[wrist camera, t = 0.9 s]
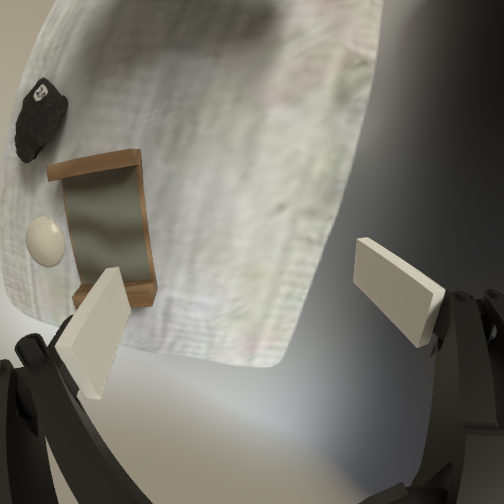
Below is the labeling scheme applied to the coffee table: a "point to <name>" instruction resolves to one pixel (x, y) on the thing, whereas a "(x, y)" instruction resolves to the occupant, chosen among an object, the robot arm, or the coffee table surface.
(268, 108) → the coffee table surface
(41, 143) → the mineral
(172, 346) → the coffee table surface
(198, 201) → the coffee table surface
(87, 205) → the rest
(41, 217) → the cream glossy rounded part
